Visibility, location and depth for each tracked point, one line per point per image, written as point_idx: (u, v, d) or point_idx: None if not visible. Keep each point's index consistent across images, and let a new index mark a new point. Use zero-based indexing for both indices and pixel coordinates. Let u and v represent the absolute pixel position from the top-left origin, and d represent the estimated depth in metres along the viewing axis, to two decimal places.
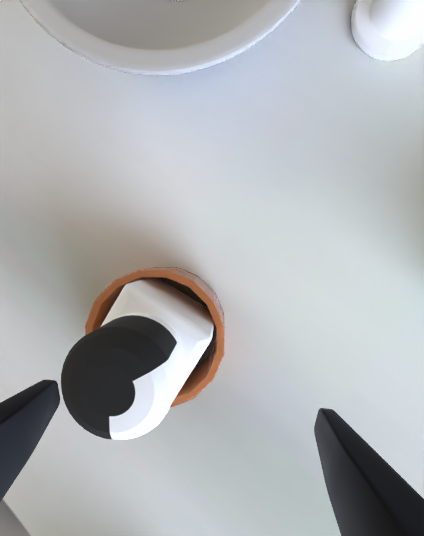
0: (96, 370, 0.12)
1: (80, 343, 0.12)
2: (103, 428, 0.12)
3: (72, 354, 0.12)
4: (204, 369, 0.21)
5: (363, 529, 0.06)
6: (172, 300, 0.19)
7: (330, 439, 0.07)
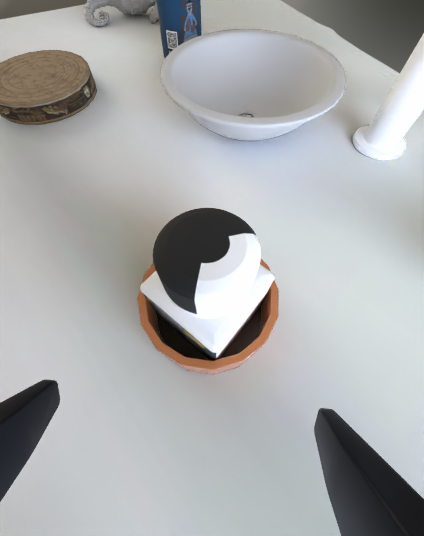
0: (197, 225, 0.14)
1: (183, 213, 0.15)
2: (192, 275, 0.12)
3: (175, 218, 0.14)
4: None
5: (363, 529, 0.06)
6: None
7: (330, 439, 0.07)
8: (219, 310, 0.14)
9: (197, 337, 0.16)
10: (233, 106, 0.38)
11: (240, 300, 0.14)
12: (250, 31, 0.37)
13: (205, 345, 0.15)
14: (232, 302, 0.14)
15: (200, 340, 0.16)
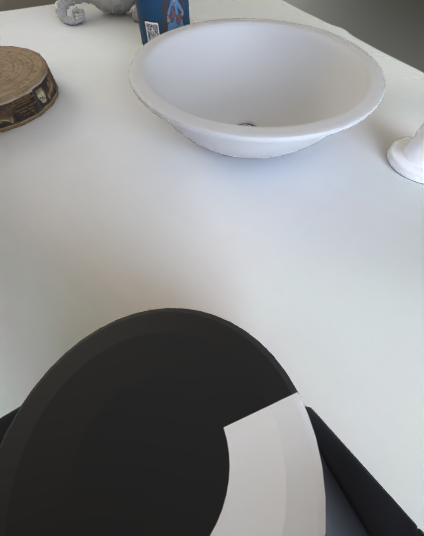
0: (129, 384, 0.05)
1: (101, 329, 0.06)
2: None
3: (75, 350, 0.05)
4: None
5: (331, 525, 0.06)
6: None
7: None
8: None
9: None
10: (229, 113, 0.29)
11: None
12: (250, 20, 0.29)
13: None
14: None
15: None
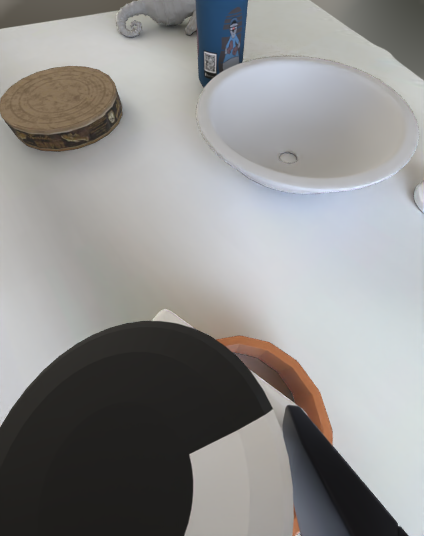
0: (98, 410, 0.05)
1: (76, 347, 0.06)
2: None
3: (50, 370, 0.05)
4: None
5: (315, 523, 0.06)
6: None
7: (293, 435, 0.07)
8: None
9: None
10: (273, 143, 0.33)
11: None
12: (301, 59, 0.32)
13: None
14: None
15: None
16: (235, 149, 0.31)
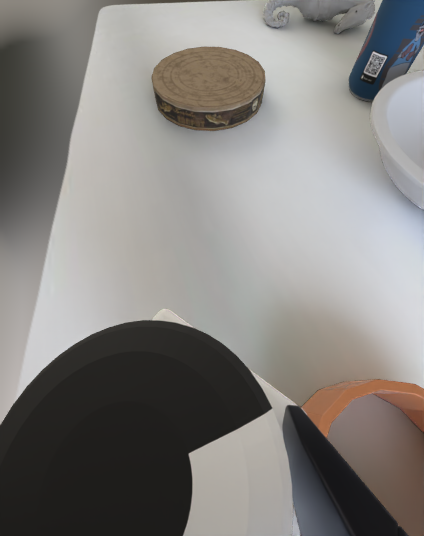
0: (97, 409, 0.05)
1: (76, 346, 0.06)
2: None
3: (49, 369, 0.05)
4: None
5: (315, 523, 0.06)
6: None
7: (293, 435, 0.07)
8: None
9: None
10: None
11: None
12: None
13: None
14: None
15: None
16: None
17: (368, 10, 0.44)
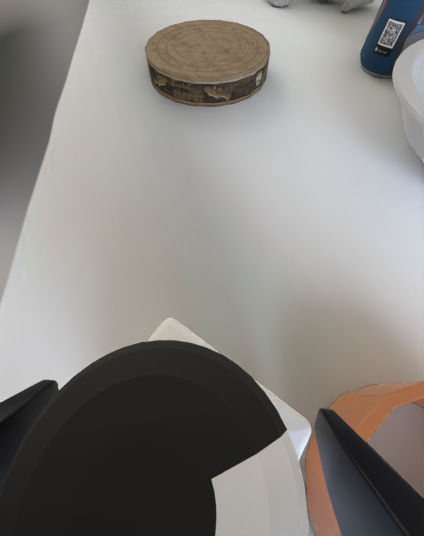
0: (119, 435, 0.05)
1: (93, 368, 0.06)
2: None
3: (68, 392, 0.05)
4: None
5: (363, 529, 0.06)
6: None
7: (330, 439, 0.07)
8: None
9: None
10: None
11: None
12: None
13: None
14: None
15: None
16: None
17: None
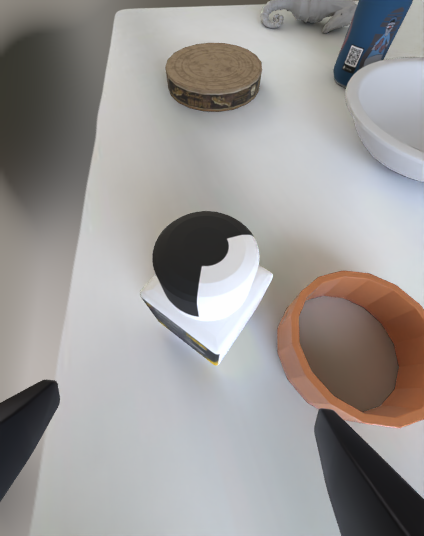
0: (195, 228, 0.14)
1: (180, 217, 0.15)
2: (193, 278, 0.12)
3: (173, 223, 0.14)
4: (397, 409, 0.18)
5: (363, 529, 0.06)
6: None
7: (330, 439, 0.07)
8: (221, 312, 0.14)
9: (200, 340, 0.16)
10: (400, 137, 0.35)
11: (241, 301, 0.15)
12: None
13: (208, 347, 0.16)
14: (233, 303, 0.14)
15: (203, 342, 0.16)
16: None
17: (352, 13, 0.50)
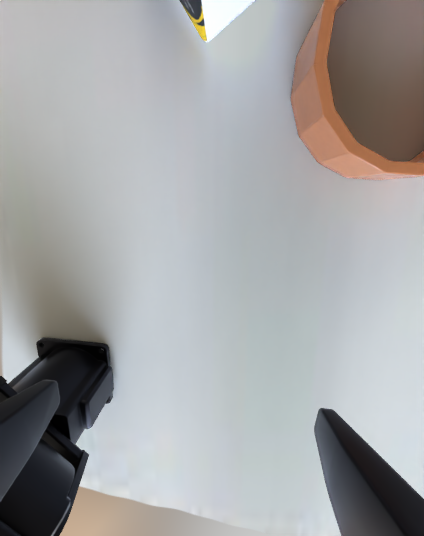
0: None
1: None
2: None
3: None
4: None
5: (363, 529, 0.06)
6: None
7: (330, 439, 0.07)
8: None
9: None
10: None
11: None
12: None
13: None
14: None
15: None
16: None
17: None
